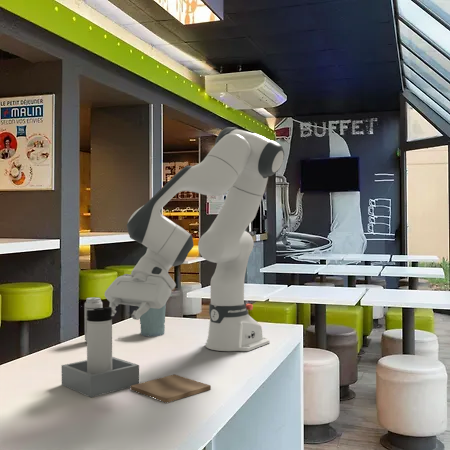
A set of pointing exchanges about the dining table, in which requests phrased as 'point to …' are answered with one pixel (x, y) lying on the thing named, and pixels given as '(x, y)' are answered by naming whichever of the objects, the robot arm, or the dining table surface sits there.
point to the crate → (100, 377)
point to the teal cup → (153, 322)
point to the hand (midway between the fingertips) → (121, 316)
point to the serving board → (170, 388)
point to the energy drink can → (91, 305)
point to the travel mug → (99, 340)
